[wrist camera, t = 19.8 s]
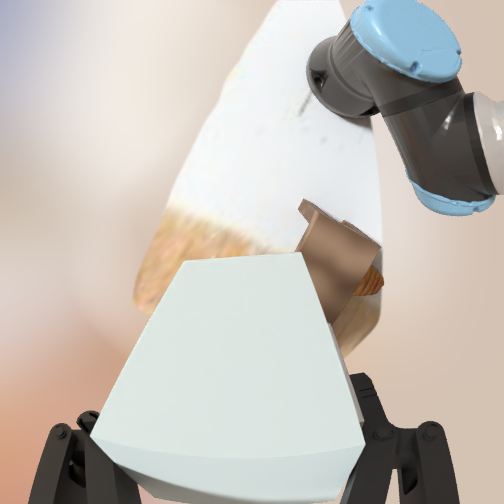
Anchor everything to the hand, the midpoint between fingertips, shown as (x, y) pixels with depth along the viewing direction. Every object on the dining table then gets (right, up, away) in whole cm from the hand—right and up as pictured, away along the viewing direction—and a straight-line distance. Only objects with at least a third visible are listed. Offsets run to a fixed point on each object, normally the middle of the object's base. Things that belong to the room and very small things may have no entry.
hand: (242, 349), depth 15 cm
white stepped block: (+1, -6, +8) cm, 10 cm away
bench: (+8, +2, +34) cm, 35 cm away
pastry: (+20, +1, +35) cm, 40 cm away
